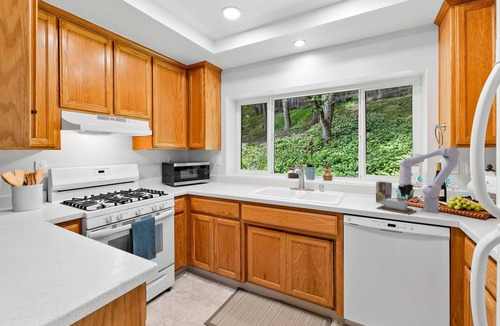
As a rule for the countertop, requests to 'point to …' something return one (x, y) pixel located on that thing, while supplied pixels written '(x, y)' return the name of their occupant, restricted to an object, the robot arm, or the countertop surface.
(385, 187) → the coffee box
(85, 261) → the countertop surface
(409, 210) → the jig
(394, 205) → the gray rectangular block
